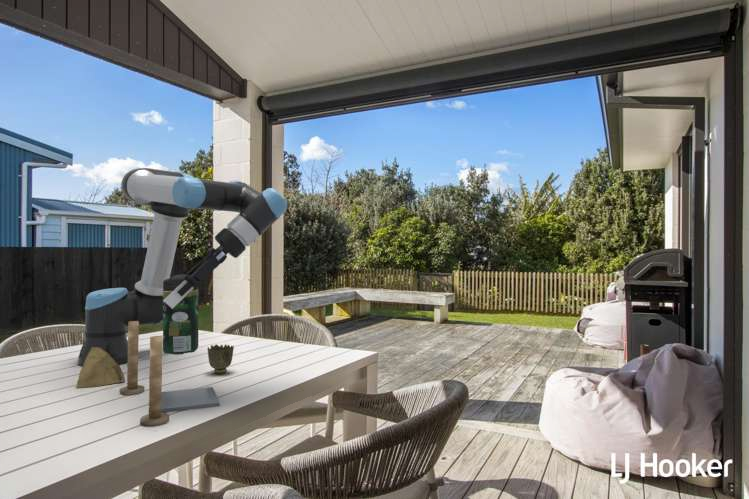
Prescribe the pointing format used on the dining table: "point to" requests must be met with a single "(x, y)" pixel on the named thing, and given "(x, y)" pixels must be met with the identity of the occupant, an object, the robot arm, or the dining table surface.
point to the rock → (99, 370)
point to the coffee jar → (180, 319)
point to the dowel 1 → (132, 361)
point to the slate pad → (188, 399)
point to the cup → (220, 357)
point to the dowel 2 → (155, 386)
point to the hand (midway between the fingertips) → (167, 302)
